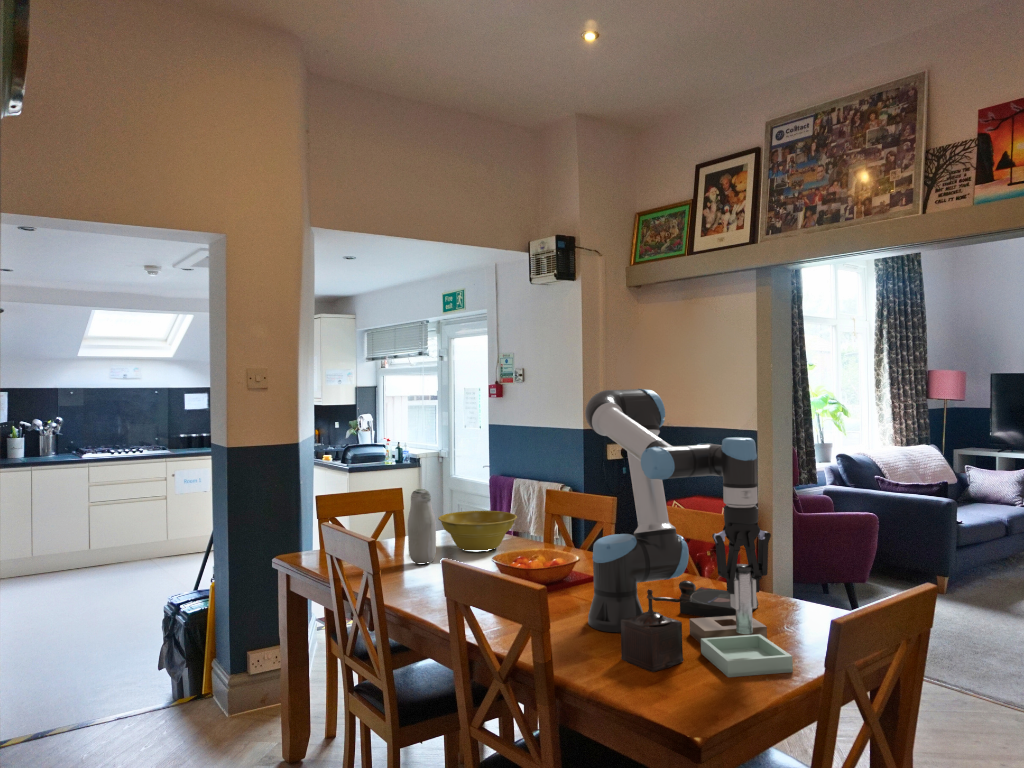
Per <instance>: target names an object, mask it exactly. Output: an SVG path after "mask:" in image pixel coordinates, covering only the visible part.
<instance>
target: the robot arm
mask: <svg viewBox="0 0 1024 768" xmlns="http://www.w3.org/2000/svg"><path fill="white" fill-rule="evenodd" d="M586 404H587V405H586V406H585V409H584V410H585V411H584V412H585V413H584V415H585V416H584V417H585V420H586V423H587V424H588V426H589V427H590V428H591V430H593V431H594V432H595V433H596V434H598V435H600V436H604V437H608V438H609V439H611V440H612V441H613V442H615V443H616V444H617V445H618V446H620V447H621V448H622V449H623V450H625V451H626V452H627V459H628V465H629V472H630V479H631V484H632V485H631V486H632V493H633V498H634V505H635V511H636V518H637V519H636V520H637V528H635V530H634V532H633V534H630V533H620V534H619V533H617V534H616V533H615V534H609V535H606V536H603V537H599V538H598V539H597V540H596V541H595V542H594V543H593V547H592V548H593V550H592V558H591V559H592V567H593V597H592V601H591V604H590V609H589V612H588V615H587V624H588V625H589V626H590V627H591V629H592V628H593V629H594V630H597V631H601V632H606V633H607V632H609V633H621V620H623V619H627V618H630V617H634V616H638V615H640V614H642V613H644V610H643V608H642V605H641V602H640V599H639V596H638V583H639V584H640V583H647V582H654V581H665V580H671V579H675V578H678V577H680V576H681V575H683V574H684V573H685V571H686V569H687V567H688V563H689V556H690V554H689V547H688V546H689V545H688V544H687V542H686V541H685V538H684V537H683V536H682V535H680V534H677V528H676V527H675V526H674V525H673V524H672V523H671V522H670V521H669V520H670V519H669V514H668V508H667V501H666V496H665V489H664V483H663V481H664V480H668V479H678V478H693V477H706V476H715V477H721V478H722V481H723V482H722V487H723V488H722V489H723V490H722V493H723V494H722V495H723V496H722V497H723V503H724V504H725V505H724V506H723V521H724V525H723V528H722V531H720V532H718V533H716V532H715V533H713V534H712V535H711V536H712V539H713V542H714V544H715V554H716V567H717V574H718V576H720V577H721V578H723V579H726V591H727V592H728V593H729V594H730V597H731V607H733V608H734V609H736V610H738V609H739V590H738V580H736V579H735V574H736V567H737V564H738V561H739V560H738V558H739V553H740V550H741V547H744V549H745V554H746V558H747V559H746V560H747V565H751V566H752V572H751V586H752V608H756V609H757V608H758V607H757V601H756V596H757V593H760V590H761V589H760V588H761V587H760V580H761V579H762V577H763V576H764V577H765V576H767V575H768V571H769V570H768V567H769V543H770V540H771V537H772V533H770V532H769V531H766V530H761V528H760V526H759V524H758V523H759V507H758V506H757V504H758V503H759V502H758V499H759V497H758V468H757V467H758V461H757V460H758V459H757V458H758V454H757V448H756V446H757V445H756V442H755V441H756V440H754V439H753V438H751V437H739V436H738V437H736V436H735V437H725V438H723V439H722V441H721V444H714V443H712V442H711V443H710V442H708V443H698V444H693V445H691V444H690V445H671V444H670V443H668V442H666V441H665V440H663V439H662V438H661V437H659V434H660V433H661V431H660V428H661V427H662V426H663V425H664V423H665V417H666V409H665V404H664V401H663V400H662V398H661V396H660V395H659V394H658V393H656V391H654V390H652V389H643V388H631V389H606V390H602V391H600V392H597V393H595V394H594V395H592V397H591V398H590V399H589V400H588V402H587V403H586ZM757 538H758V541H757V542H758V544H757V545H758V547H757V548H758V549H757V554H756V543H755V540H756V539H757ZM726 539H727V540H728V554H727V555H726V546H725V541H726ZM726 556H727V557H726Z"/></svg>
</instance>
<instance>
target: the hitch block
mask: <svg viewBox="0 0 1024 768" xmlns="http://www.w3.org/2000/svg"><path fill="white" fill-rule="evenodd" d="M688 623H689V635H690V636H691V637H692V638H694V639H695V641H697V642H698V643H699V644H701V638H715V637H729V636H743V635H757V634H761V635H762V636H763V637H765V638H766V639H768V627H767V626H766V625H765V624H764V623H762V622H760V621H759V620H757V619H755V618H754V617H753V616H752V624H753V633H751V634H741V633H738V632H736V616H721V617H696V618H695V617H694V618H689V622H688Z"/></svg>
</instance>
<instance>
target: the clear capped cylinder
mask: <svg viewBox="0 0 1024 768" xmlns="http://www.w3.org/2000/svg"><path fill="white" fill-rule="evenodd" d="M751 572H752V566H751V565H748V563H747V564H746V563H737V567H736V574H735V579H736V580H738V590H739V609H738V610H736V632H738V633H741V634H751V633H753V624H752V617H753V611H752V586H751Z"/></svg>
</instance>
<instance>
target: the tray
mask: <svg viewBox="0 0 1024 768" xmlns="http://www.w3.org/2000/svg"><path fill="white" fill-rule="evenodd" d="M700 654H701V655H702V656H704V658H706V659H707V660H708V661H709V662H710V663H711V664H712V665H714V666H715V667H716V668H717V669H719V671H721V673H723V674H724V675H725V676H726V677H727V678H737V677H748V676H749V677H750V676H761V675H773V674H785V673H793V672H794V670H793V669H794V668H793V667H794V666H793V663H794V662H793V655H791V654H790V653H788V652H787V651H785V650H784V649H782V648H781V647H780V646H778V645H777V644H775V643H773V642H772V641H771V640H769V639H768V638H767V639H766V638H765V637H763V636H762V635H761V634H757V635H743V636H729V637H715V638H701V643H700Z"/></svg>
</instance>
